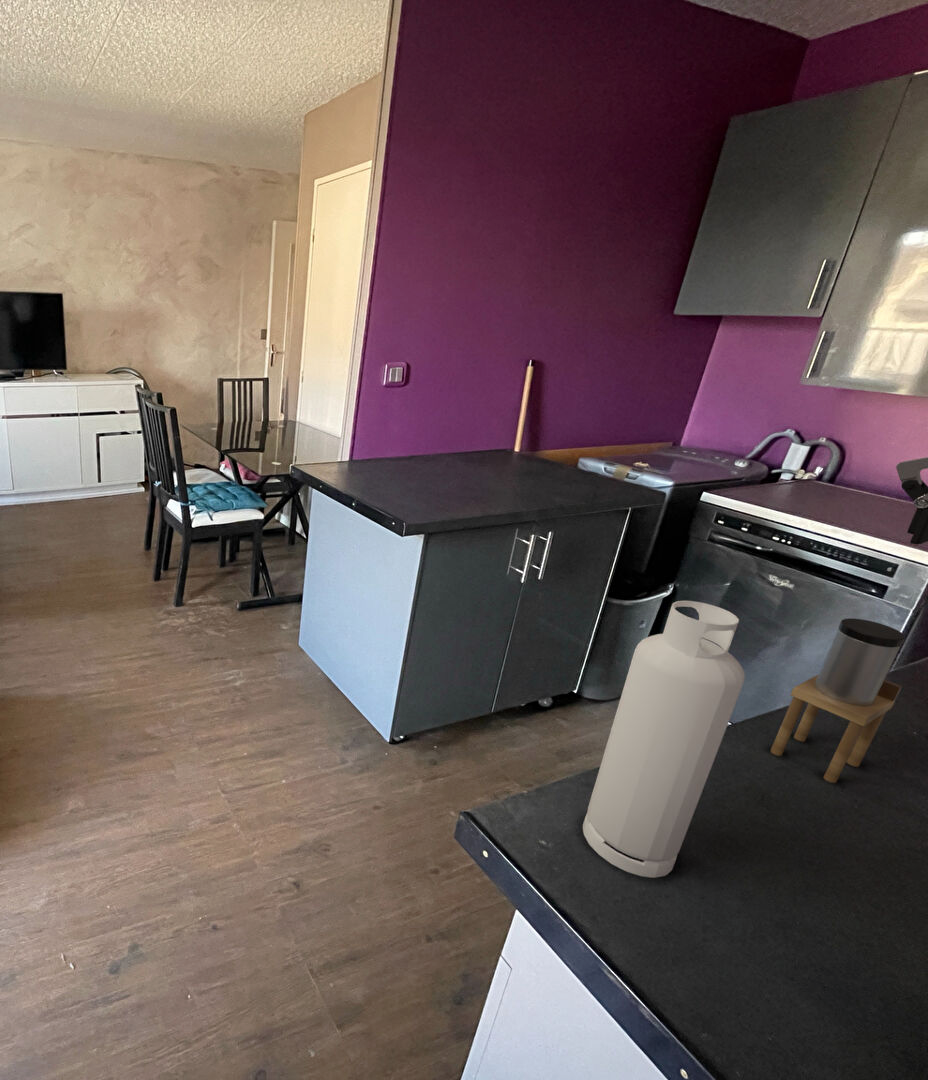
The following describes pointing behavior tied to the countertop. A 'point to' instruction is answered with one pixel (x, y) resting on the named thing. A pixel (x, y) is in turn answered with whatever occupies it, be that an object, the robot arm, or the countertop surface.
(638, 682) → the bottle
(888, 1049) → the countertop surface
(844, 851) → the countertop surface
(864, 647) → the canister
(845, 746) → the small wooden chair
